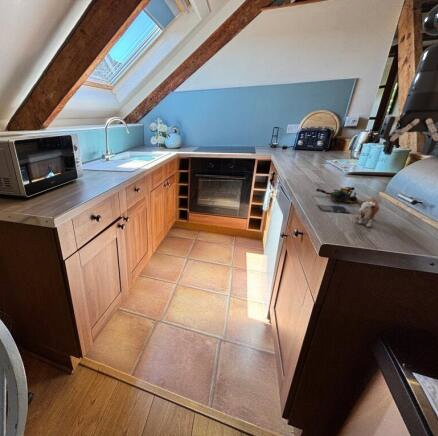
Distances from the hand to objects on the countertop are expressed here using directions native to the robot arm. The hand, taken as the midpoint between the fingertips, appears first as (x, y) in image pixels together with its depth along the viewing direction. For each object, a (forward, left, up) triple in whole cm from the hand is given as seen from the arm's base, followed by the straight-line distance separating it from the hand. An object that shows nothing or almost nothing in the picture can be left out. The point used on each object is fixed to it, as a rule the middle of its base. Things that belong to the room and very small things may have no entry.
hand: (405, 154), depth 70 cm
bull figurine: (+4, 0, -22) cm, 22 cm away
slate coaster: (+9, -12, -22) cm, 26 cm away
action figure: (+1, -26, -22) cm, 34 cm away
